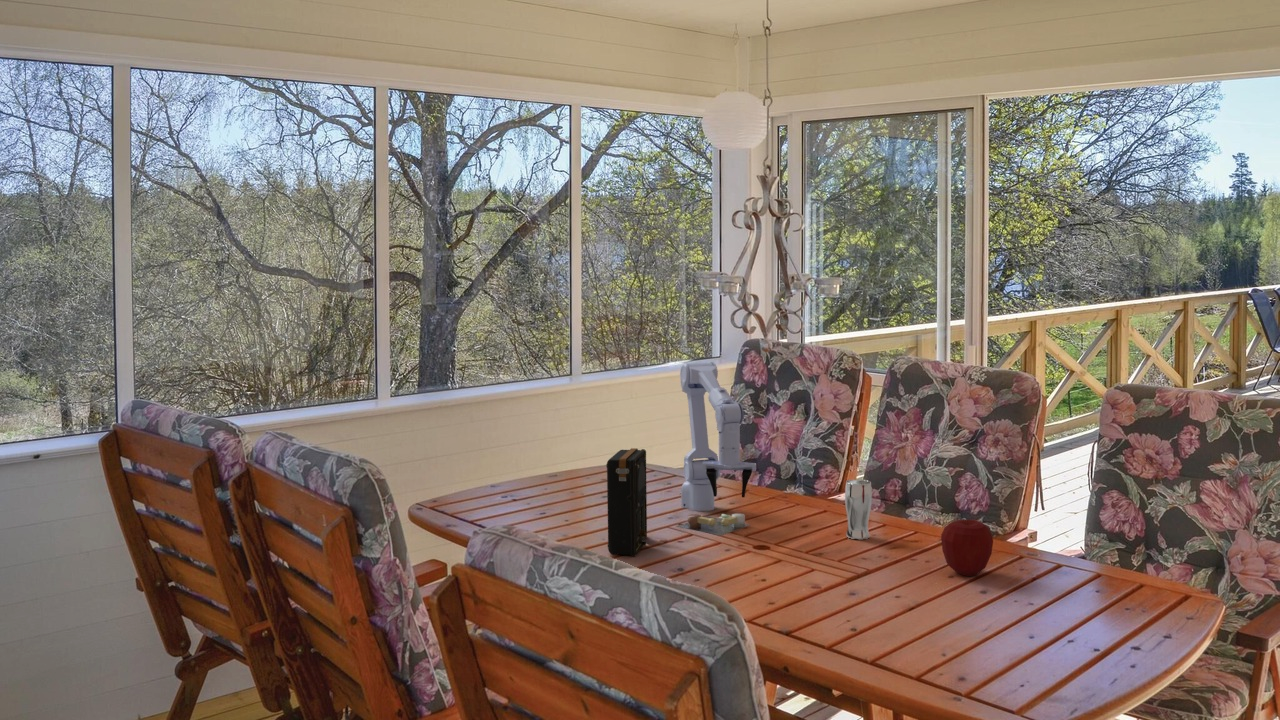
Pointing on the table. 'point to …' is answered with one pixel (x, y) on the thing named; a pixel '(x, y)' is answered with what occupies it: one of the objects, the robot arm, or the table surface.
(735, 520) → the footscrew grey
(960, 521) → the apple
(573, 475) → the table surface
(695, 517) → the beige knobbed bar
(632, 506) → the voltmeter
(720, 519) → the bubble vial
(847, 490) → the beer glass
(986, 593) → the table surface
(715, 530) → the levelling plate
